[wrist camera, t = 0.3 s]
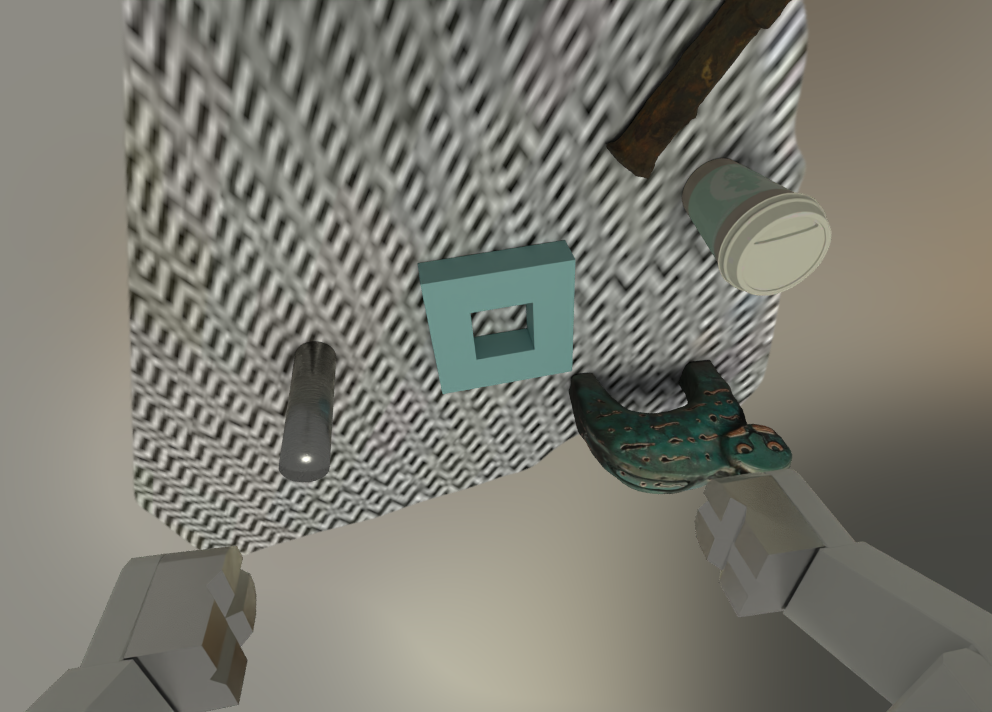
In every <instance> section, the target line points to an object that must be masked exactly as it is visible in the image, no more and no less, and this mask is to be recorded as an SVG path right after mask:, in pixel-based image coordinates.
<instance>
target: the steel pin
mask: <svg viewBox="0 0 992 712" xmlns="http://www.w3.org/2000/svg"><path fill="white" fill-rule="evenodd" d="M335 369H336V353H335V351H334V350H333V349H332V348H331V347H330V346H329V345H327V344H325V343H322V342H307V343H304V344H302V345H301V346H300V347H298V349H297V350H296V352H295V358H294V365H293V372H292V379H291V386H290V393H289V400H288V406H287V413H286V420H285V427H284V434H283V441H282V448H281V454H280V461H279V471H280V473H281V474H282V475H283V476H284V477H286V478H287V479H290V480H292V481H297V482H311V481H316V480H318V479H321V478H322V477H324V476H325V475H326V474H327V473H328V471H329V467H330V451H331V435H332V418H333V402H334V386H335Z"/></svg>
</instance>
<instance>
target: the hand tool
mask: <svg viewBox="0 0 992 712" xmlns="http://www.w3.org/2000/svg"><path fill="white" fill-rule="evenodd" d="M790 1H792V0H726V1H725V3H724V4H723V5H722V7H721V8H720V9H719V11H718V12H717V14H716V15H715V16H714V18H713V19H712V20H711V21H710V22H709V24H708V25H707V26H706V27H705V28H704V30H703V31H702V32H701V34H700V35H699V36H698V37H697V39H696V40H695V41H694V42H693V43H692V44H691V45H690V46H689V48H688V49H687V50H686V51H685V52H684V54H683V55H682V57H681V59H680V60H679V62H678V63H677V65H676V66H675V67H674V68H673V70H672V71H671V72H670V73H669V75H668V76H667V77H666V79H665V80H664V81H663V82H662V83H661V85H660V86H659V87H658V88H657V89H656V91H655V92H654V93H653V95H652V96H651V97H650V98H649V99H648V100H647V102H646V104H645V106H644V107H643V108H642V110H641V111H640V112H639V114H638V115H637V116H636V118H635V119H634V120H633V122H632V123H631V125H630V126H629V127H628V129H627V130H626V131H625V133H624V134H623V135H622V136H621V137H620V138H619V139H618V140H617V141H615V142H612V143H608V144H607V149H608V150H609V151H610V152H611V154H612V155H613V156H614V157H615V158H616V159H617V161H618V162H619V163H620V164H622V165H623V166H624V167H625V168H627V169H628V170H629V171H631V172H632V173H633V174H634V175H635V176H638V177H644V178H647V179H648V178H649V177H650V175H651V172H652V171H653V169H654V166H655V162H656V160H657V158H658V156H659V155H660V154H661V153H662V152H663V151H664V149H665V148H666V147H667V145H668V144H669V143H670V142H671V140H672V139H673V137H674V136H675V135H676V134H677V133H678V131H680V130H681V129H682V128H683V127H684V126H686V125H687V124H688V123H689V122H690V120H691V119H694V118H696V116H697V110H698V107H699V105H700V104H701V103H702V102H703V101H704V99H705V98H706V96H707V95H708V94H709V93H710V91H711V90H712V89H713V88H714V86H715V85H716V84H717V83H718V81H719V80H720V79H721V78H722V77H723V75H724V74H725V73H726V71H727V70H728V69H729V68H730V66H731V65H732V64H733V63H734V61H735V60H736V59H737V57H738V56H739V55H740V53H741V52H742V51H743V49H744V48H745V47H746V45H747V44H748V43H749V42H750V41H751V39H752V38H753V37H754V36H756V35H757V33H758V31H759V30H760V29H761V28H763V29H768V28H770V27H771V25H772V24H773V23H774V22H775V21H776V19H777V18H778V17H779V16H780V15H781V13H782V11H783V10H784V8H785V7H786V5H787V4H788V3H789V2H790Z"/></svg>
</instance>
